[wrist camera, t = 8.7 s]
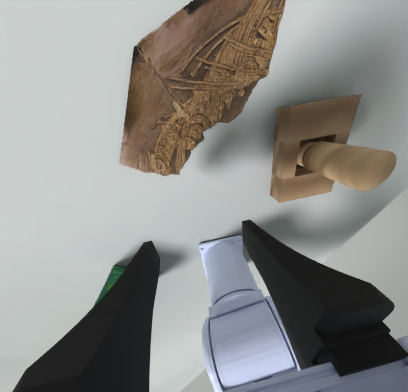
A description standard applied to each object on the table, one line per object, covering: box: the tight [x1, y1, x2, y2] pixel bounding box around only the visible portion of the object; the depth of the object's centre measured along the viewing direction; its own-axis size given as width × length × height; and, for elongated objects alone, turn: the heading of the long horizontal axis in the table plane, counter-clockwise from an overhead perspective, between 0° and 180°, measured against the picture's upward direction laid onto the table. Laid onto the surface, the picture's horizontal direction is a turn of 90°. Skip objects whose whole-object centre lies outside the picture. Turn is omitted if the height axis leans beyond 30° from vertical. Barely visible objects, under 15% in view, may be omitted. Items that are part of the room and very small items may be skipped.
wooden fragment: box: [120, 0, 285, 176], centre depth 15 cm, size 26×11×1 cm, turn 133°
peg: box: [297, 140, 396, 191], centre depth 16 cm, size 4×4×9 cm
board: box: [270, 94, 361, 203], centre depth 19 cm, size 12×8×2 cm, turn 9°
